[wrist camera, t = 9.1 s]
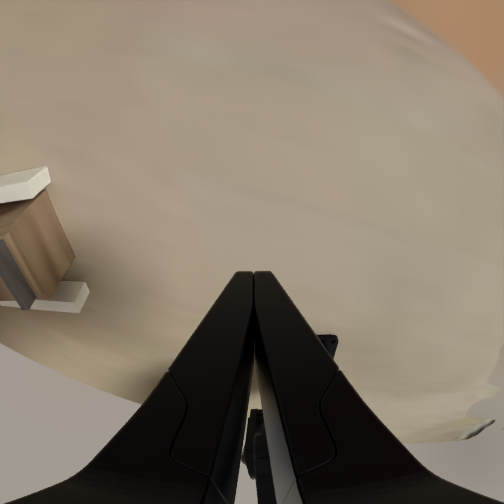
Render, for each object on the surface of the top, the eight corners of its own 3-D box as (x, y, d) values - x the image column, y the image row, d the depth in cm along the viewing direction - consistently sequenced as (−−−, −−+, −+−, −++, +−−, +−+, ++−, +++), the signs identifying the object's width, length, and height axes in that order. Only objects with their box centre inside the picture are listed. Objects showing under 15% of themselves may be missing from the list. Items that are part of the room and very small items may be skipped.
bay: (46, 166, 18) (27, 181, 16) (89, 292, 25) (79, 313, 23) (-46, 187, 18) (-63, 201, 16) (-2, 287, 25) (-14, 303, 23)
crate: (47, 188, 19) (-5, 240, 14) (76, 255, 23) (40, 315, 17) (-21, 210, 20) (-65, 256, 14) (7, 265, 23) (-28, 314, 18)
